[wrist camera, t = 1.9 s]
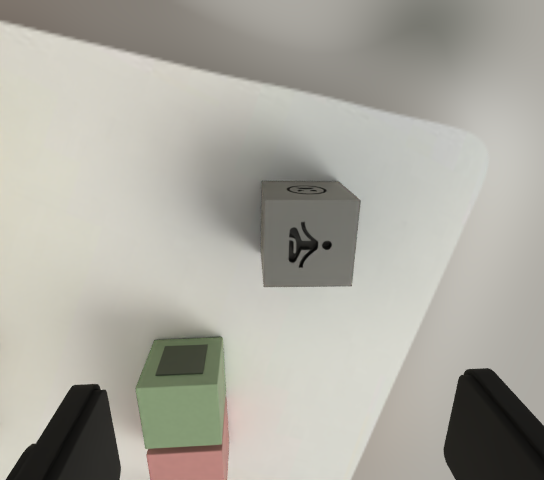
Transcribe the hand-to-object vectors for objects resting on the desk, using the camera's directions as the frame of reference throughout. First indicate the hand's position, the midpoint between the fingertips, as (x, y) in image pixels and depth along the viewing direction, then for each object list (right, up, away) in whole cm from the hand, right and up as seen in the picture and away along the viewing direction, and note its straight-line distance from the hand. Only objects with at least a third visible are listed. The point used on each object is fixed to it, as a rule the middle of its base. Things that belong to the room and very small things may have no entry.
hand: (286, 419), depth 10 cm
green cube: (-6, -5, +19) cm, 20 cm away
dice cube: (+1, +6, +15) cm, 16 cm away
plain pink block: (-6, -10, +20) cm, 24 cm away
